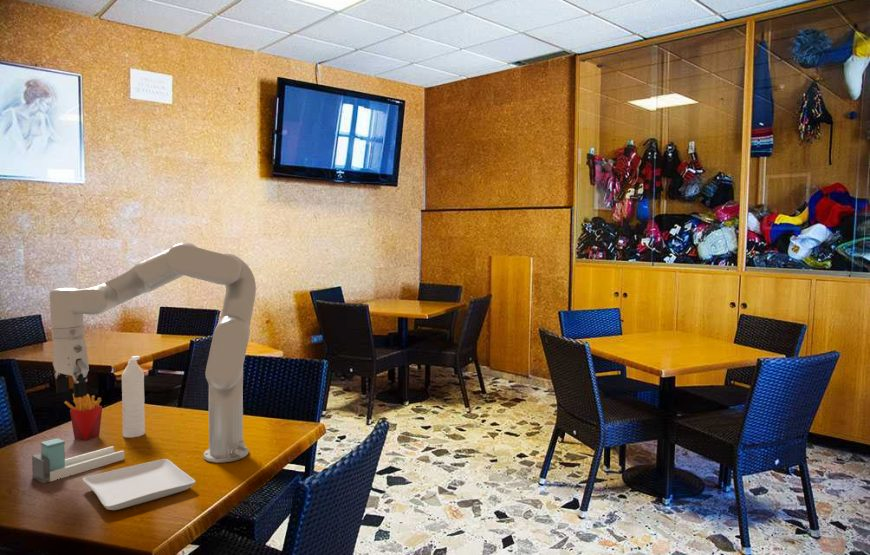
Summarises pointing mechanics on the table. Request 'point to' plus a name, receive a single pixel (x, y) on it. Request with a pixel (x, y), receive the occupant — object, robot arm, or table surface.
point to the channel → (74, 464)
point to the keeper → (54, 453)
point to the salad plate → (138, 483)
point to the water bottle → (133, 399)
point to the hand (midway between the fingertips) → (71, 394)
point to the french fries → (85, 417)
